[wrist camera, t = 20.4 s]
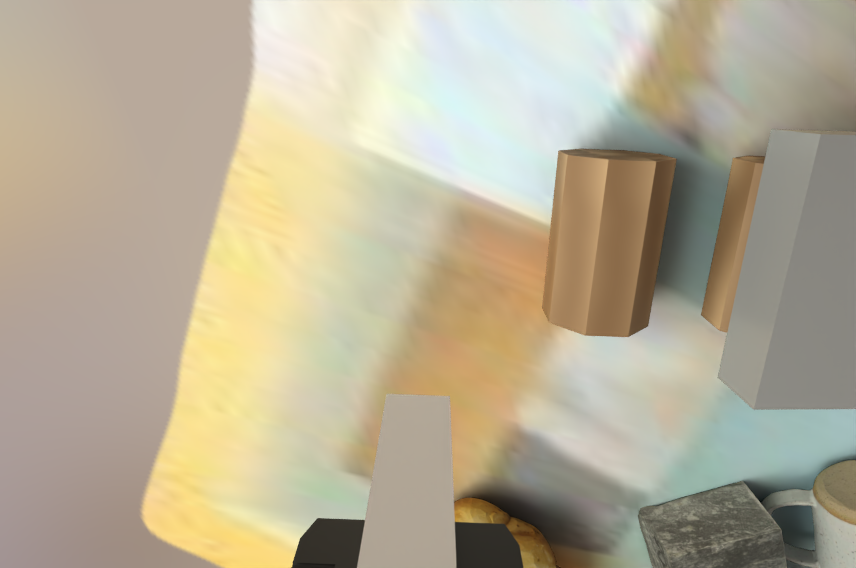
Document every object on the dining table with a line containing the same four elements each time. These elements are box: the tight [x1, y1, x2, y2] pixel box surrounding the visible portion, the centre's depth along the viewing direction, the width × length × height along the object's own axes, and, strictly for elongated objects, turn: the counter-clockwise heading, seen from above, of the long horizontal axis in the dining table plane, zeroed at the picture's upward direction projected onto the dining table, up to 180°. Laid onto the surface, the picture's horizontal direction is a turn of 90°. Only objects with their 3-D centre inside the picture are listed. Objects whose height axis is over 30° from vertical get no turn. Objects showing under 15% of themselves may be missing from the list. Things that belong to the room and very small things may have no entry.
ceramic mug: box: [761, 460, 856, 568], centre depth 40 cm, size 11×8×8 cm
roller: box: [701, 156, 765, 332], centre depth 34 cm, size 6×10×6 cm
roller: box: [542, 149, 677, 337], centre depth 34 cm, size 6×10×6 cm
